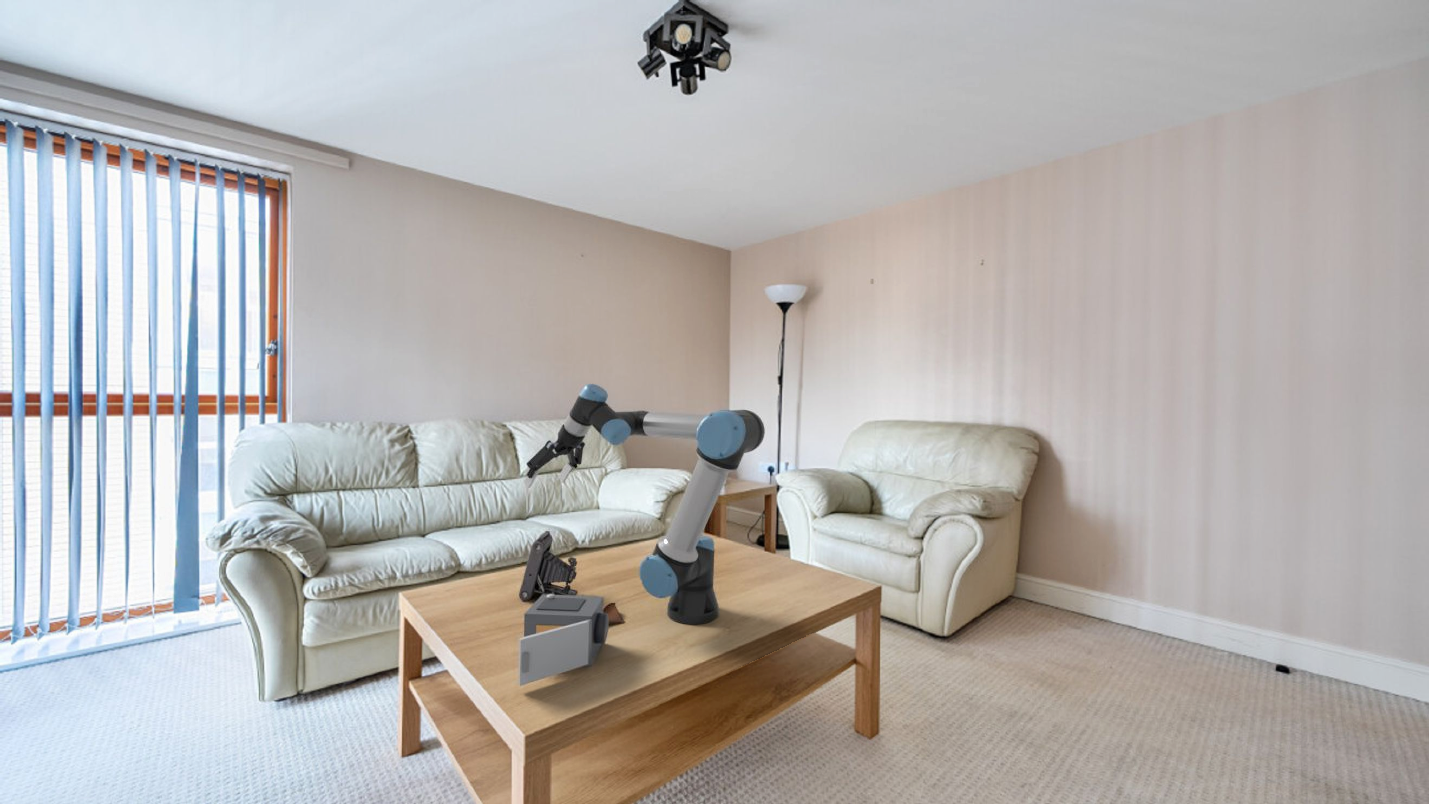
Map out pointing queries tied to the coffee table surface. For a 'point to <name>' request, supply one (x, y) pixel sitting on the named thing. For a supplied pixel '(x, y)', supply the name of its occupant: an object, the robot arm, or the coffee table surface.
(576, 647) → the door
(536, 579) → the camera
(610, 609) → the sunglasses case
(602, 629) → the panel
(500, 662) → the coffee table surface
